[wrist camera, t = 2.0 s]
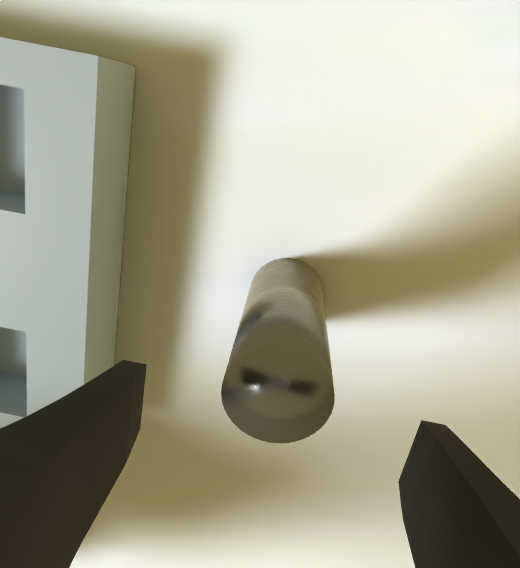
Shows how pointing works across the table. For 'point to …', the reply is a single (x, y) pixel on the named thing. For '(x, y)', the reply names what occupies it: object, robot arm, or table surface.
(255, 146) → the table surface
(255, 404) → the peg
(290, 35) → the table surface
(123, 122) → the hole block
